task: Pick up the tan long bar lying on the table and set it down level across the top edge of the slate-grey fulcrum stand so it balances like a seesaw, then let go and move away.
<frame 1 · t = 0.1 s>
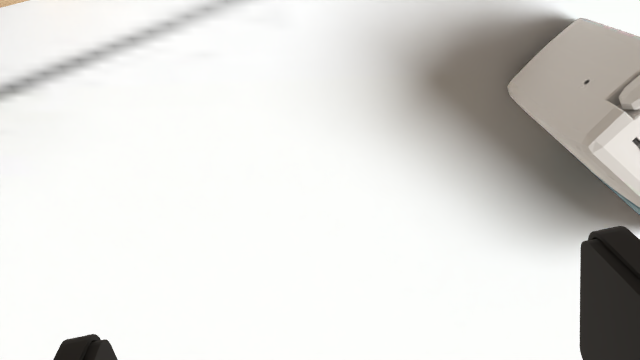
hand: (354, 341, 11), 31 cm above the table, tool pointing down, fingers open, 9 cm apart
stereo radio cassette player: (619, 126, 44), on the table
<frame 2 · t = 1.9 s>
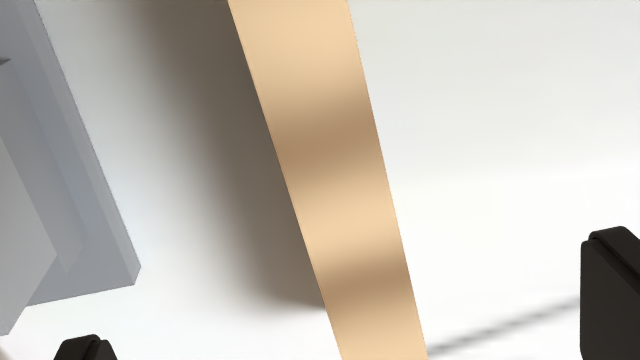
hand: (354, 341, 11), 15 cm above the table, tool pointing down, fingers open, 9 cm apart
tan long bar: (314, 86, 25), on the table
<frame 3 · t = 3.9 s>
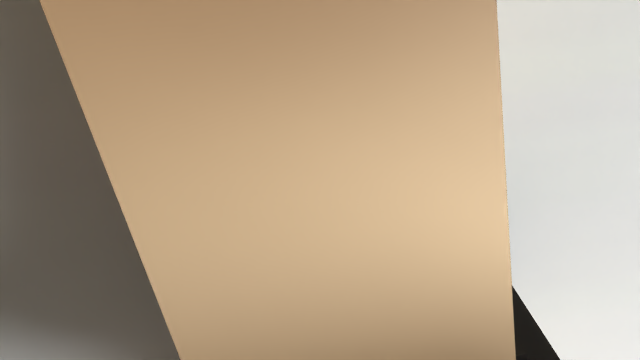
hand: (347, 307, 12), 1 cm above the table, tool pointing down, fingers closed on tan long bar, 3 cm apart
tan long bar: (342, 283, 13), on the table, touching gripper
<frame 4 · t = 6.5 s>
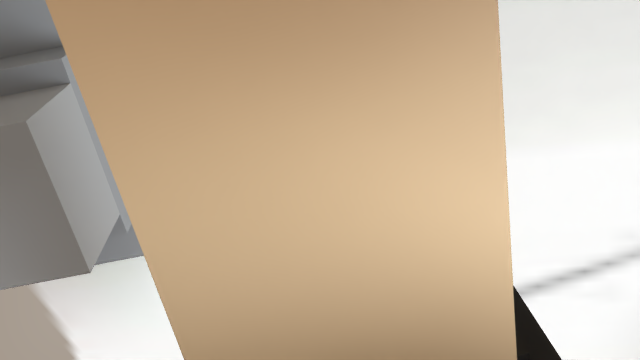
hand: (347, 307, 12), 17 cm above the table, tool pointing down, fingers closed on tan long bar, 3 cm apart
tan long bar: (344, 283, 13), point 16 cm above the table, touching gripper
fulcrum stand: (22, 136, 28), on the table
when the fingers open (10 cm above the table, at t = 9.2 s): tan long bar stays where it is, resting on fulcrum stand.
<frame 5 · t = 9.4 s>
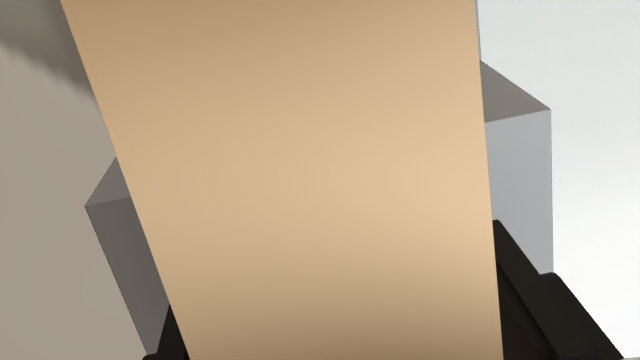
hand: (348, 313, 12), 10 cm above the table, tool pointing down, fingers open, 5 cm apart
tan long bar: (338, 269, 13), point 9 cm above the table, touching fulcrum stand
fulcrum stand: (314, 137, 21), on the table
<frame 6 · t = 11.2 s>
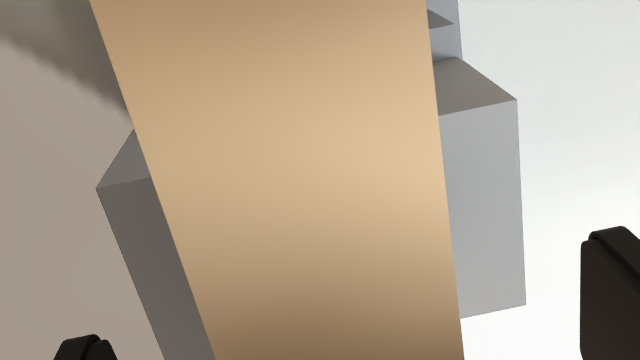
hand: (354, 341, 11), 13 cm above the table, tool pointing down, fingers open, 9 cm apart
tan long bar: (326, 245, 14), point 9 cm above the table, touching fulcrum stand
fulcrum stand: (307, 132, 23), on the table
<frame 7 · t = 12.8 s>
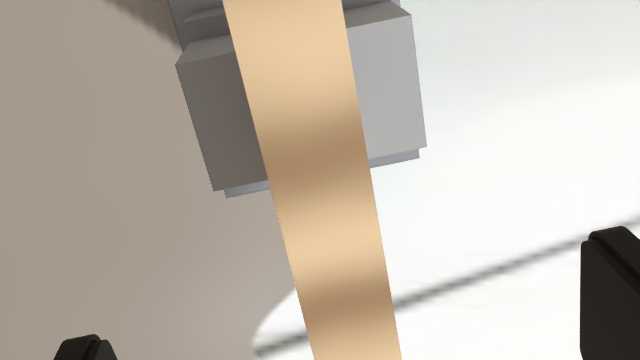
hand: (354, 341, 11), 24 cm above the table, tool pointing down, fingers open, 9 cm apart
tan long bar: (305, 103, 25), point 9 cm above the table, touching fulcrum stand
fulcrum stand: (298, 60, 33), on the table
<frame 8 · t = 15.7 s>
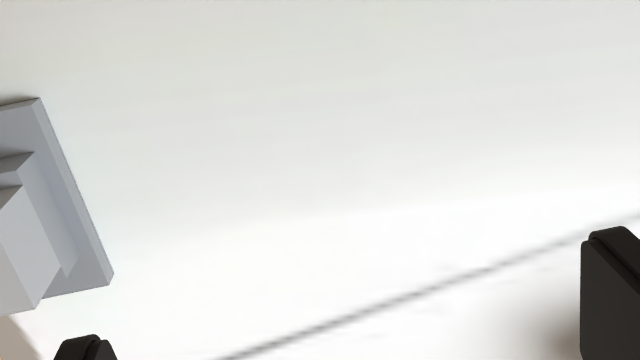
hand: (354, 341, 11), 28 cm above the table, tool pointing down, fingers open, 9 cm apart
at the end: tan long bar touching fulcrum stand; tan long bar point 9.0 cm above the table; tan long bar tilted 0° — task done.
